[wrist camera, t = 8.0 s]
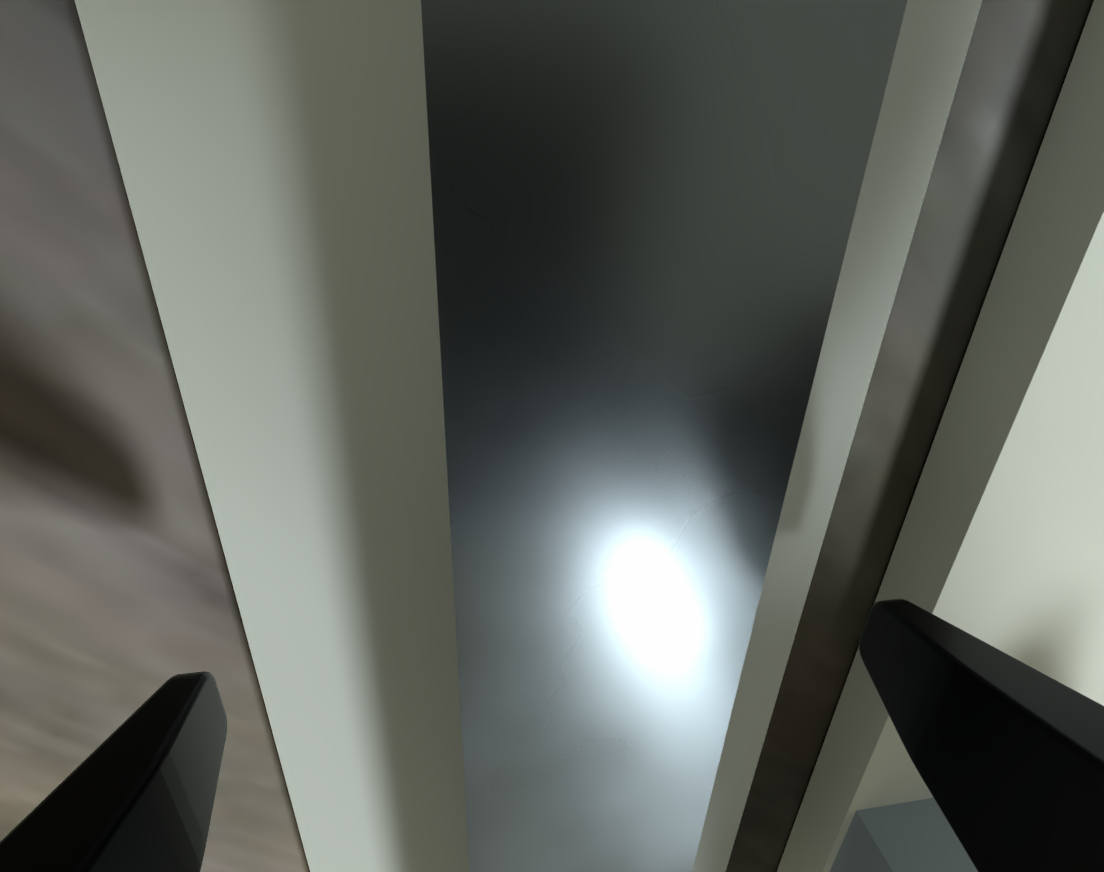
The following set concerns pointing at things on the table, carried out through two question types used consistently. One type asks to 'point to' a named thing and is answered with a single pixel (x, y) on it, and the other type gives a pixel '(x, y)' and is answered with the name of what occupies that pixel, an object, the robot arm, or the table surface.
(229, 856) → the table surface
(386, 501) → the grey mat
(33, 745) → the table surface
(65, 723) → the table surface
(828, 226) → the steel rod
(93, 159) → the table surface
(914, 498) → the hook rack
